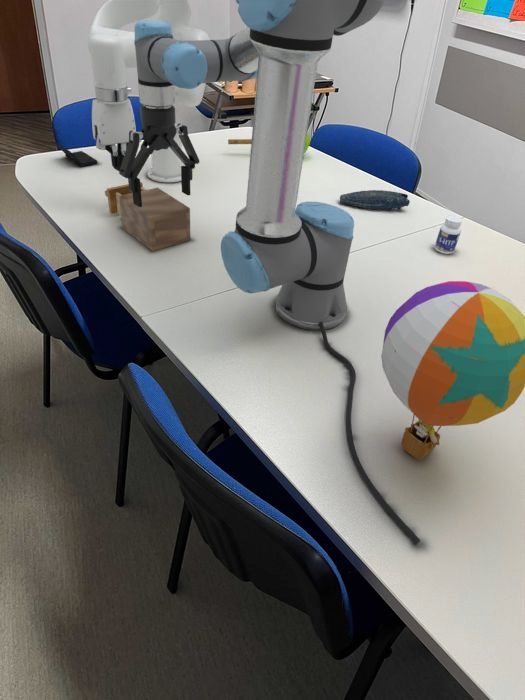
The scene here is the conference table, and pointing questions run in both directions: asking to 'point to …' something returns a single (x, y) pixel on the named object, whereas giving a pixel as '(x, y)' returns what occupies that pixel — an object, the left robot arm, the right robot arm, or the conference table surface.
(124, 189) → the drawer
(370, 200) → the fish model
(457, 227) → the pill bottle
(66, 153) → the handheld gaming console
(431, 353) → the toy
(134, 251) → the conference table surface
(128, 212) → the wooden grain block
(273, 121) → the right robot arm
